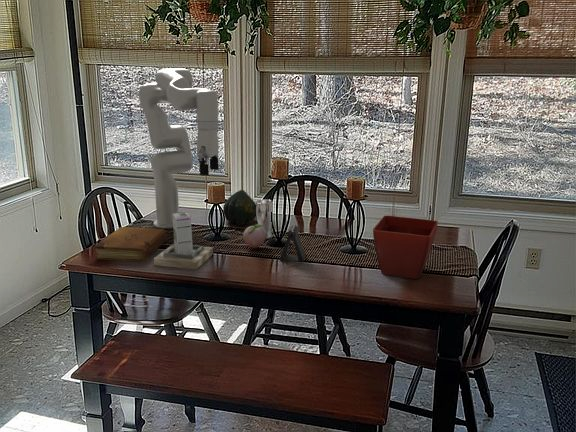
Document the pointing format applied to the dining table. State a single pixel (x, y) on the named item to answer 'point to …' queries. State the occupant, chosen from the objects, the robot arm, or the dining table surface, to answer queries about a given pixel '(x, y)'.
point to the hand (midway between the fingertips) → (209, 172)
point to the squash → (240, 208)
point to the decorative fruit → (254, 235)
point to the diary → (130, 244)
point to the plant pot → (403, 245)
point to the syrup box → (182, 233)
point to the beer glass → (264, 215)
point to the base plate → (183, 257)
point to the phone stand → (298, 246)
